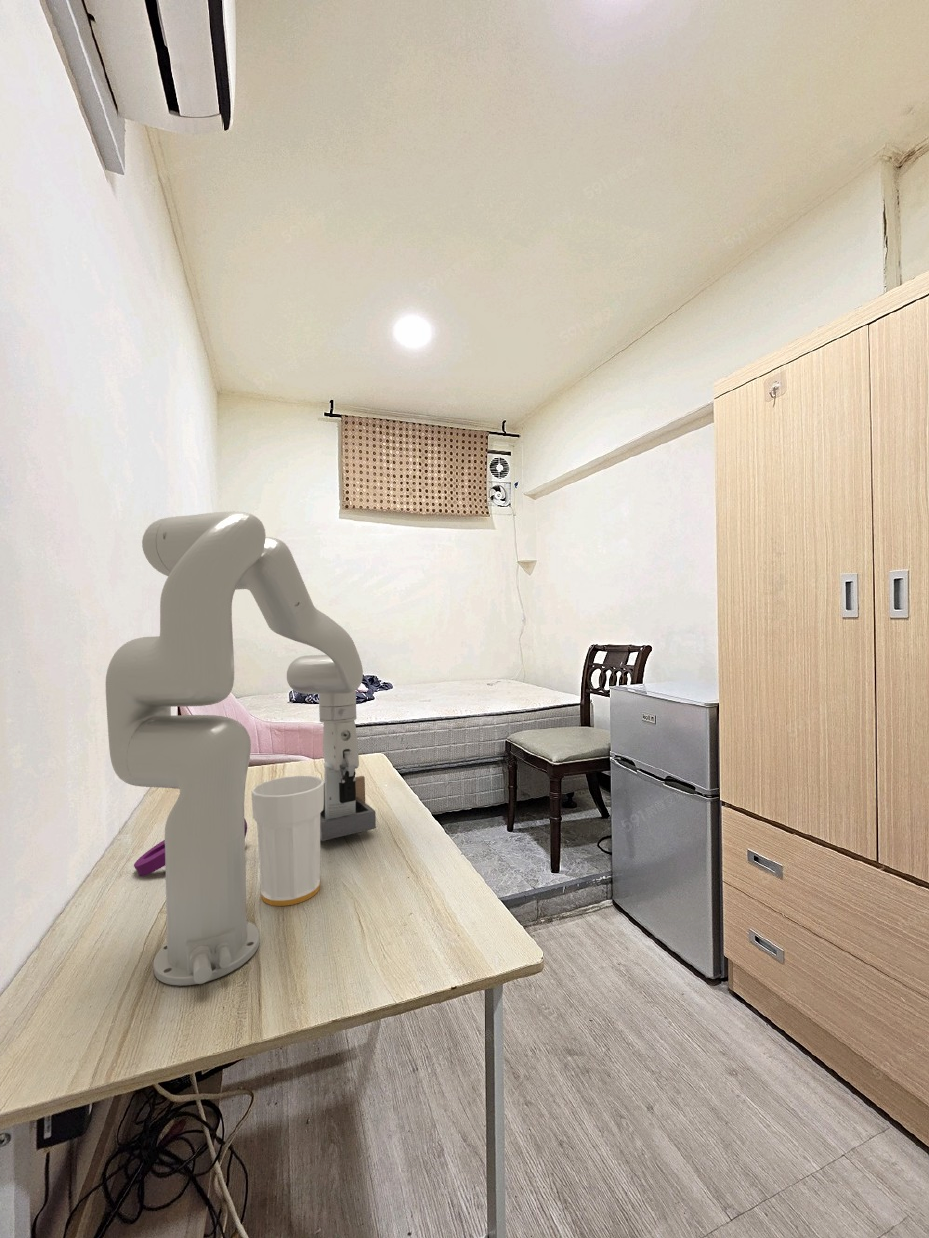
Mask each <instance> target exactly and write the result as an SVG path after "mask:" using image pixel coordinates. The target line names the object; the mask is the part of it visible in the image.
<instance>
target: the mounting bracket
mask: <svg viewBox="0 0 929 1238" xmlns="http://www.w3.org/2000/svg"><path fill="white" fill-rule="evenodd" d="M244 823H245V838H246V836H247V834H248V823H247V820H246V818H245V817H244ZM163 867H165V839H164V840H162V841H160V842H159V843H157V844H155V845H154V846H153V847H151V848H150V849H149V850H147V851H146V852H144V853H143V854H142V855H141V856H140V857H139V858H138V859H136V861H135V862H134V864H133V868H134V869H135V870H136V872H137V873H138V875H139V876H140V877H145V876H148V875H150V874H152V873H154V872H156V871H158V870H159V869H162V868H163Z"/></svg>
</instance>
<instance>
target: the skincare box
mask: <svg viewBox="0 0 929 1238" xmlns="http://www.w3.org/2000/svg"><path fill="white" fill-rule="evenodd" d="M323 765H324V766H323V767H324V771H323V773H324V774H323V775H324V776H323V777H324V779H323V780H324V786H325V820H328V819H333V818H337V817H342V816H346V815H351V814H355V813H356V800H355V801H351V802H346V803H340V799H339V783H341V780H340V776H339V772H337V771H335V770H334V769H332V766H331V765H330V764H328V763H327V762H325V761H324V764H323ZM343 767H345V766H343ZM343 774H344V775H345V772H343Z"/></svg>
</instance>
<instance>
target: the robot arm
mask: <svg viewBox="0 0 929 1238" xmlns="http://www.w3.org/2000/svg"><path fill="white" fill-rule="evenodd" d="M141 540H142V541H141V543H142V545H141V547H142V551H143V554H144V556H145V558H146V560H147V562H148V563H149V564H150V565H151V567H152V568H154V569H155V570H156V571H157V572H158V573H160V574H162V575H163V576H165V577H167V578H166V580H165V582H164V584H163V586H162V587H163V588H162V591H161V594H160V600H159V601H160V604H159V613H160V616H159V623H160V624H159V636H158V635H157V636H143V637H139V638H135V639H131V640H129V641H127V642H126V643H124V644H123V645H121V646H120V647H119V648H118V649H117V650H116V651H115V653H114V654H113V656H112V658H111V659H110V662H109V664H108V666H107V670H106V675H105V703H106V719H107V721H106V722H107V733H108V749H109V756H110V761H111V765H112V768H113V770H114V773H115V774H116V776H117V777H118V778H119V779H120V780H121V781H122V782H124V783H125V784H128V785H131V786H135V787H143V788H144V787H146V788H162V789H163V788H164V789H166V788H167V789H173V790H174V789H175V790H176V789H177V790H179V795H178V797H177V799H176V802H175V803H174V804H173V807H172V808H171V810H170V812H169V814H168V815H167V819H166V822H165V825H164V826H165V827H164V840H165V866H164V867H165V901H166V913H165V914H166V943H165V944H163V946H161V948H160V949H159V951H158V952H157V953H156V954H155V957H154V960H153V974H154V976H155V977H156V979H157V980H158V981H160V982H162V983H164V984H167V985H170V986H171V985H172V986H193V985H198V984H199V985H202V984H205V983H207V982H211V981H212V980H216V979H219V978H221V977H224V976H225V975H228V974H230V973H232V972H233V971H235V970H236V969H239V968H240V967H241V966H243V965H244V964H246V962H248V961H249V960H250V959H251V958H252V957H253V956H254V954H255V953H256V952H257V950H258V949H259V946H260V941H261V939H260V938H261V935H260V929H259V928H258V926H256V924H254V923H253V922H250V921H248V915H247V914H248V910H247V909H248V908H247V905H248V904H247V876H246V875H247V873H246V871H247V870H246V865H247V864H246V837H245V823H244V818H245V799H246V798H245V796H246V795H245V793H246V792H245V791H246V782H247V776H248V770H249V765H250V758H251V754H252V753H251V752H252V741H251V737H250V734H249V731H248V730H247V729H246V727H245V726H244V725H243V724H242V723H241V722H239V721H238V720H236V719H233V718H231V717H227V716H223V715H214V714H212V715H211V714H185V715H184V714H183V715H172V710H171V709H172V707H179V708H180V707H203V706H204V707H205V706H212V705H216V704H218V703H221V702H223V701H225V699H227V698H228V697H229V695H230V694H231V692H232V690H233V687H234V683H235V654H234V639H233V634H234V633H233V632H234V631H233V614H232V613H233V609H232V608H233V600H234V599H233V598H234V595H235V592H236V590H248V591H249V592H250V593H251V596H252V597H253V598H254V601H255V602H256V605H257V606H258V608H259V610H260V612H261V615H262V616H263V618H264V620H265V622H266V624H267V626H268V628H269V629H270V630H271V631H272V632H274V633H275V634H276V635H279V636H282V637H284V638H286V639H289V640H292V641H294V642H297V643H301V644H304V645H307V646H310V647H313V648H314V649H316V650H317V651H320V652H322V653H323V654H316V655H315V654H314V655H313V654H312V655H303V656H299V657H297V658H295V659H294V660H292V661H291V663H290V664H289V665H288V668H287V670H286V681H287V685H288V686H289V687H290V689H292V690H293V691H294V692H296V693H299V694H304V695H318V708H319V709H318V713H319V715H318V716H319V723H323V726H322V727H323V728H322V729H323V730H322V731H323V732H322V735H323V737H322V745H323V746H322V749H323V750H322V751H323V760H324V762H327V763H328V764H330V765H331V766H332V769H334V770H335V771H337V772H339V776H340V780H341V783H339V799H340V803H346V802H351V801H355V800H356V785H355V781H356V777H357V776H356V775H357V773H356V769H358V768H359V767H360V761H359V760H360V756H359V745H358V734H357V728H356V722H355V721H356V720H357V718H358V717H357V693H356V691H357V690H358V689H359V688H360V686H361V684H362V682H363V678H364V670H363V664H362V661H361V658H360V655H359V652H358V650H357V647H356V644H355V642H354V639H353V638H352V637H351V635H350V634H349V633H348V631H346V630H345V629H344V628H343V627H342V626H341V625H339V623H337V622H336V621H335V620H333V619H332V617H330V616H328V615H327V614H325V613H324V612H322V611H321V610H319V609H317V608H316V607H315V606H314V603H313V601H312V598H311V596H310V594H309V591H308V589H307V586H306V584H305V581H304V580H303V578H302V574H301V572H300V570H299V568H298V566H297V563H296V560H295V559H294V557H293V554H292V552H291V550H290V548H289V546H288V545H287V543H285V542H284V541H282V540H281V539H279V538H277V537H276V538H275V537H273V536H266V529H265V526H264V524H263V522H262V521H261V519H260V518H258V517H257V516H256V515H254V514H252V513H249V512H244V511H233V510H232V511H219V512H217V511H216V512H207V513H206V512H205V513H199V514H191V515H179V516H171V517H163V518H160V519H158V520H156V521H153V522H152V523H151V524H149V525H148V526H147V528H146V529H145V531H144V533H143V535H142V539H141ZM343 766H345V767H343ZM343 772H345V775H344V774H343Z"/></svg>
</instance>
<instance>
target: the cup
mask: <svg viewBox="0 0 929 1238" xmlns="http://www.w3.org/2000/svg"><path fill="white" fill-rule="evenodd" d="M251 807H252V818H253V820H255V822H256V826H257V841H258V844H257V845H258V860H259V861H258V863H259V873H260V874H259V878H260V879H259V881H260V894H261V900H262V902H264V903H265V904H267V905H269V906H273V907H274V906H275V907H285V906H294V905H297V904H300V903H302V902H306V901H307V900H309V899H310V898H312V897H314V896H315V895H317V893H318V892H319V891H320V889H321V839H320V813H321V812H322V811H323V807H324V779H322V778H320V777H319V776H313V775H290V776H283V777H279V778H271V779H269V780H266V781H263V782H261V783H259V784H257V785H255V786H253V788H252V790H251Z"/></svg>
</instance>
